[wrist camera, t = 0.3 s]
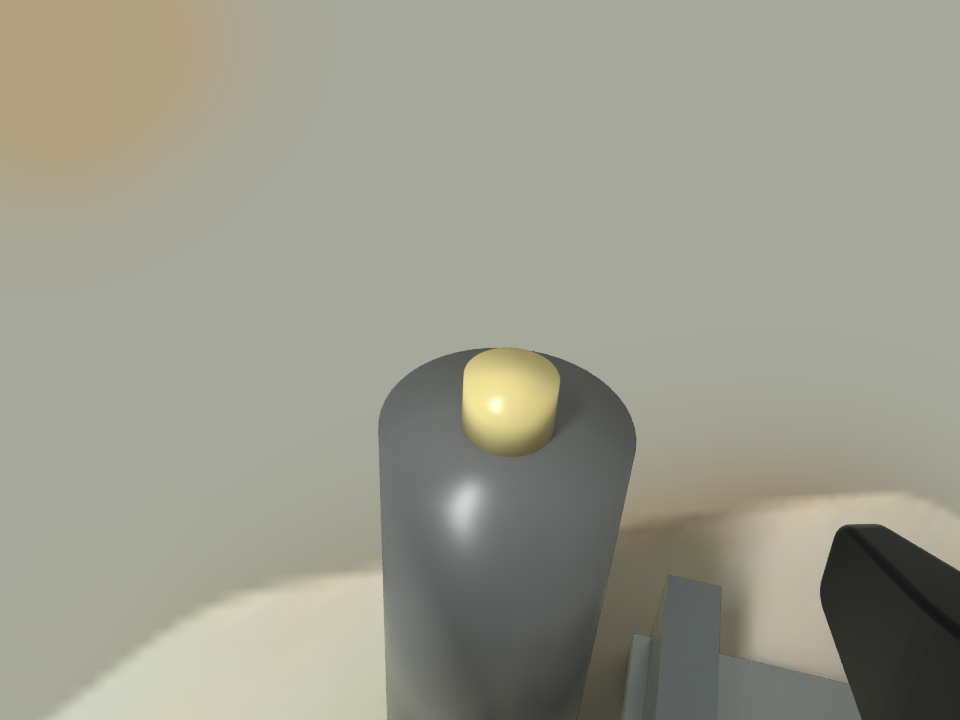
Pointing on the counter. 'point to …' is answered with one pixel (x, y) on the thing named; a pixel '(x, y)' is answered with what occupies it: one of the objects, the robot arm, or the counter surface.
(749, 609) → the counter surface
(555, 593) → the plug
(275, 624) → the counter surface
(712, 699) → the housing
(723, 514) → the counter surface
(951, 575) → the robot arm
